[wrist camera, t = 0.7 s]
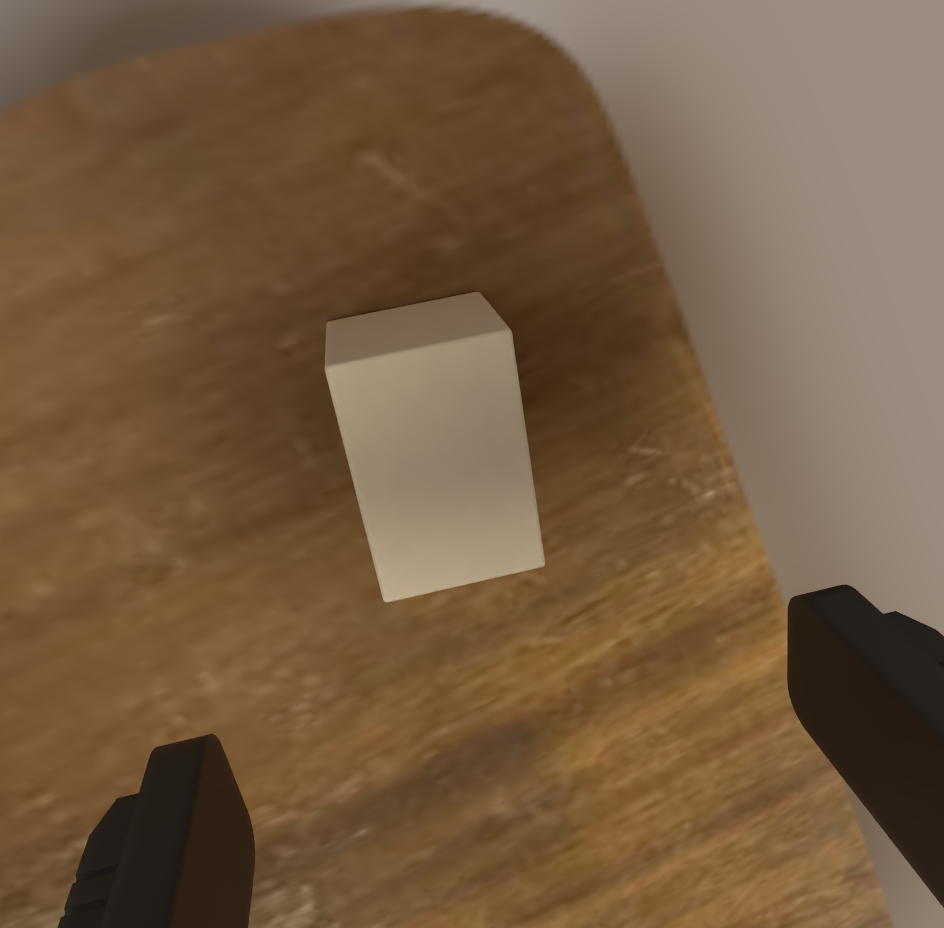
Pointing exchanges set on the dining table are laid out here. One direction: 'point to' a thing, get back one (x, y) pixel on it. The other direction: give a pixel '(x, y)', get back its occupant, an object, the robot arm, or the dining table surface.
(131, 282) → the dining table surface
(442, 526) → the tea packet
